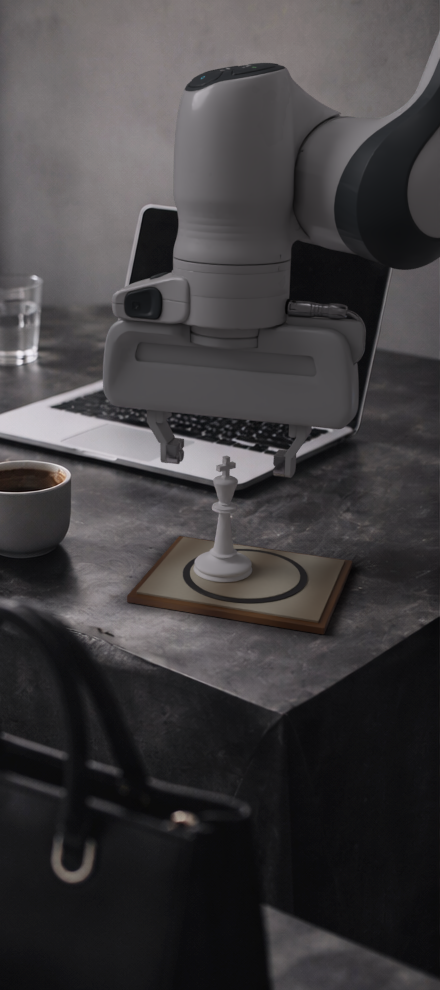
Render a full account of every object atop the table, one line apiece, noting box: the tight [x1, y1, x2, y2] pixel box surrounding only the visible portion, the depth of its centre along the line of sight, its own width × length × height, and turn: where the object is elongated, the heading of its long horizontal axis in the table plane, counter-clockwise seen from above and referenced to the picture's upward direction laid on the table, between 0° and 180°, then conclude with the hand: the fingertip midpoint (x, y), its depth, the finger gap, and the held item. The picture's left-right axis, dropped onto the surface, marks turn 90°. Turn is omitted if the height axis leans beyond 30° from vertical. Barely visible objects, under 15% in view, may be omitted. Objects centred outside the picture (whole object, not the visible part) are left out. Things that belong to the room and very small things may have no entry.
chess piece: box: [193, 455, 252, 582], centre depth 80 cm, size 5×5×10 cm
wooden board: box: [126, 535, 353, 635], centre depth 82 cm, size 16×13×1 cm
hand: (227, 468), depth 79 cm, fingers open, 8 cm apart
